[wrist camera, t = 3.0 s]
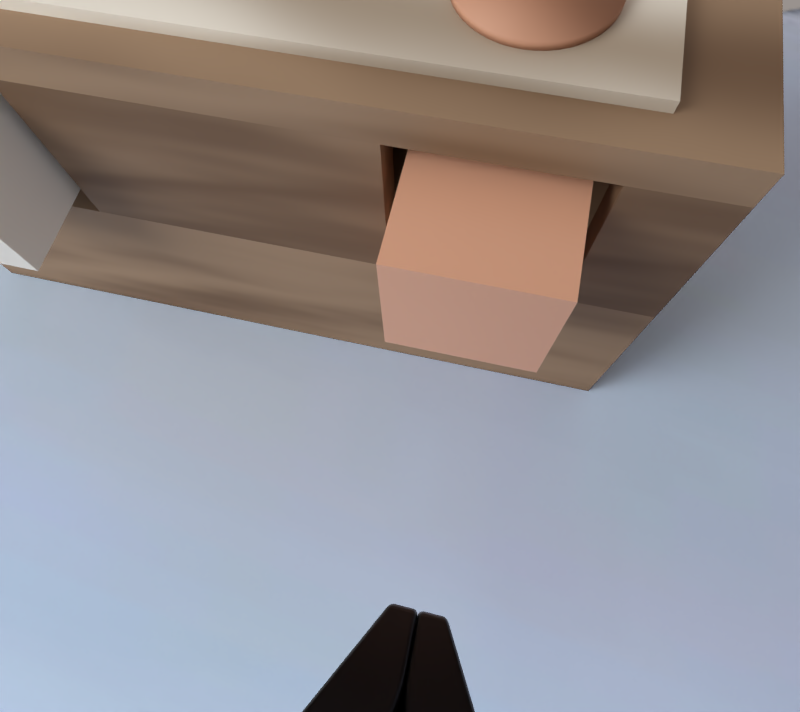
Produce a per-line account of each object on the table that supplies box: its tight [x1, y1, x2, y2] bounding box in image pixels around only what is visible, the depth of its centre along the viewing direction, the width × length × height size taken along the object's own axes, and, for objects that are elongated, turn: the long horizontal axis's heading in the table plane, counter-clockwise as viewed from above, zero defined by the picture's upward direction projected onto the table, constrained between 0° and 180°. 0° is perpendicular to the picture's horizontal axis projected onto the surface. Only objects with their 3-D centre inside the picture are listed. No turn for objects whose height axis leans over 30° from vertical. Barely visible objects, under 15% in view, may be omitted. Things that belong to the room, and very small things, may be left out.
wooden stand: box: [0, 0, 784, 391], centre depth 18 cm, size 7×24×13 cm, turn 77°
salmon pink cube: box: [376, 149, 593, 373], centre depth 14 cm, size 4×4×4 cm
